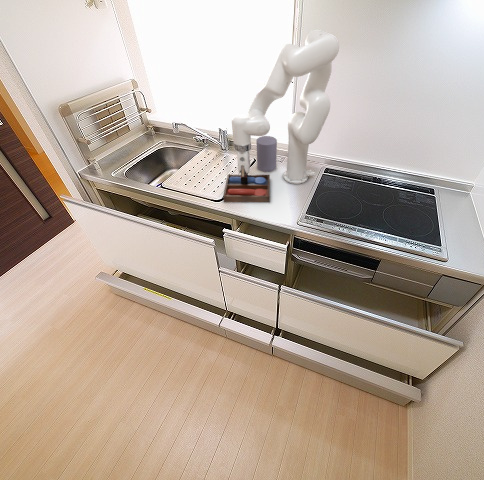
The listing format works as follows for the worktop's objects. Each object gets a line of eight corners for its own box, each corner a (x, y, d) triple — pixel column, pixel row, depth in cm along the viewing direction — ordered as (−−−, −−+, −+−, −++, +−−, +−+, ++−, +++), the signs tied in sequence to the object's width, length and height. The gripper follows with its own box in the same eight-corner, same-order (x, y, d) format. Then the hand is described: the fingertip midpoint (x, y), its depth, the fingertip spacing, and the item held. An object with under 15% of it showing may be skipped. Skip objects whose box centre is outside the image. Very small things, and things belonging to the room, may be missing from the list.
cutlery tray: (269, 180, 132) (269, 174, 130) (269, 202, 119) (269, 196, 117) (228, 180, 132) (227, 174, 130) (224, 202, 119) (223, 196, 117)
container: (272, 173, 137) (273, 146, 126) (254, 170, 139) (253, 143, 128) (278, 164, 144) (279, 137, 133) (261, 161, 146) (260, 134, 135)
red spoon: (265, 191, 124) (265, 186, 122) (265, 198, 120) (265, 193, 118) (228, 190, 124) (227, 185, 122) (227, 197, 120) (226, 192, 118)
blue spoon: (265, 179, 130) (265, 174, 128) (265, 185, 126) (265, 180, 124) (230, 178, 129) (229, 173, 127) (228, 185, 125) (228, 180, 123)
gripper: (250, 155, 108) (251, 191, 122) (251, 138, 120) (253, 173, 133) (232, 154, 108) (235, 191, 121) (235, 137, 120) (238, 172, 133)
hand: (244, 181), depth 127 cm, fingers closed on blue spoon, 2 cm apart
